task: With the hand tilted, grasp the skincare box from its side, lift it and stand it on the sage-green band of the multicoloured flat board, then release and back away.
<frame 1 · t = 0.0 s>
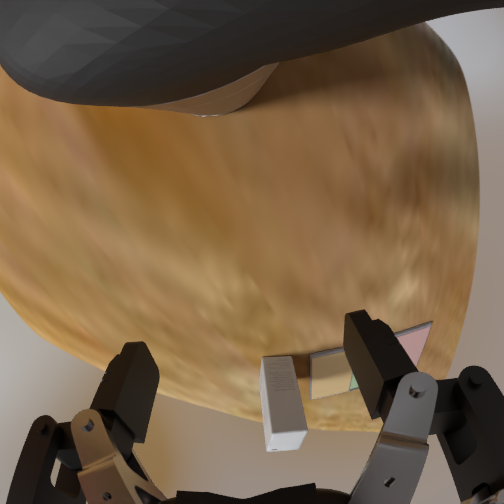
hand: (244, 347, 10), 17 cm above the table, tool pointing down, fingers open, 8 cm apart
multicoloured flat board: (370, 363, 38), on the table
skincare box: (275, 367, 36), on the table
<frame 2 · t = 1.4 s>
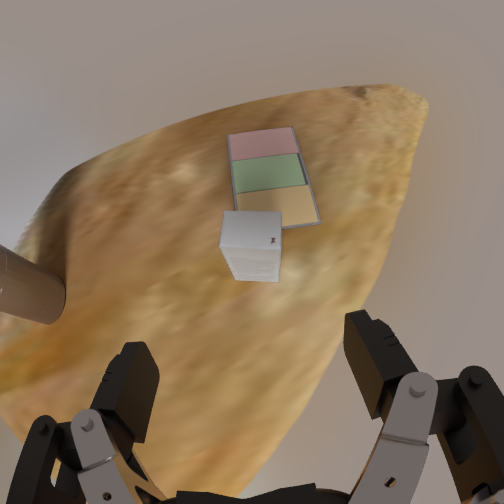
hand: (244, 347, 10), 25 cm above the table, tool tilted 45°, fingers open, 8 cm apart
multicoloured flat board: (269, 174, 43), on the table
skincare box: (257, 267, 38), on the table
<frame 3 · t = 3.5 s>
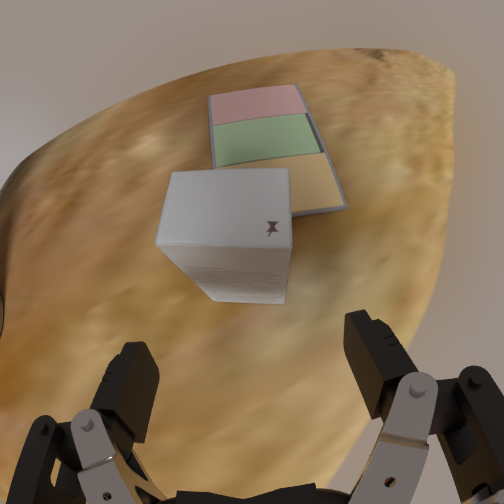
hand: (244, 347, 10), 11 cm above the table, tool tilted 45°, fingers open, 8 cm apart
multicoloured flat board: (266, 140, 28), on the table
skincare box: (249, 279, 23), on the table
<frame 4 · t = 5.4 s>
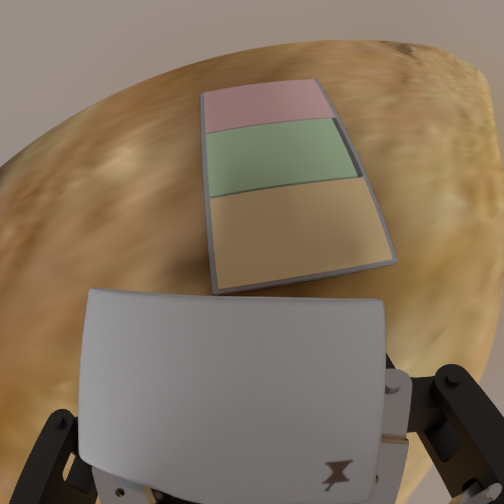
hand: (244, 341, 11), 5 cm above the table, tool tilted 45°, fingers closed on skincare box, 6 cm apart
multicoloured flat board: (280, 155, 20), on the table
skincare box: (258, 371, 15), on the table, touching gripper
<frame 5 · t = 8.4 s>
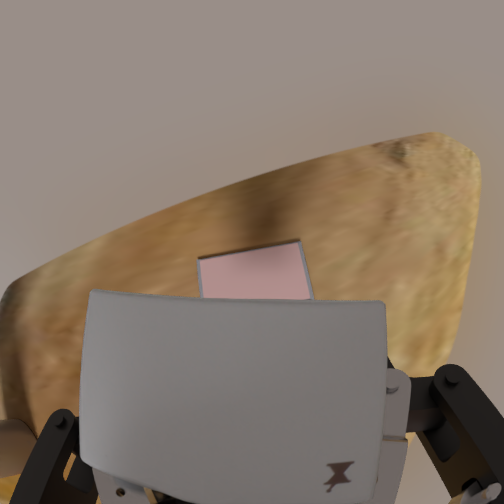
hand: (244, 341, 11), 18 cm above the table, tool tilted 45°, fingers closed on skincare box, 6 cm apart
multicoloured flat board: (263, 340, 28), on the table
skincare box: (258, 372, 15), point 13 cm above the table, touching gripper
when the fingers open (7 cm above the table, at t = 11.3 s): skincare box drops 1 cm, resting on multicoloured flat board.
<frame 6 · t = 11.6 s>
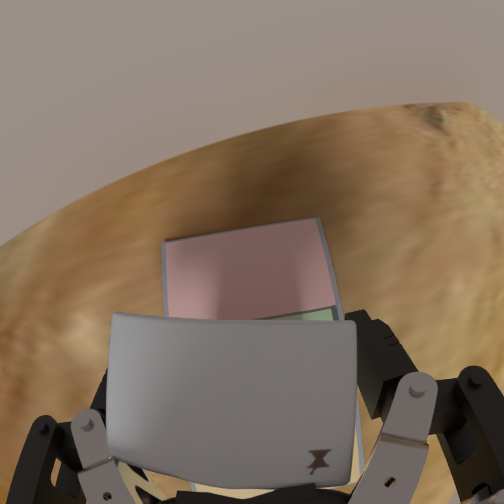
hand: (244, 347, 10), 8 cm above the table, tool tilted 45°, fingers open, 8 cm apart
multicoloured flat board: (259, 370, 17), on the table
skincare box: (257, 374, 16), resting on multicoloured flat board
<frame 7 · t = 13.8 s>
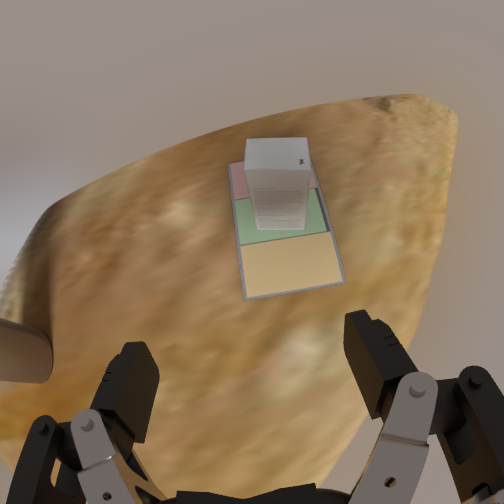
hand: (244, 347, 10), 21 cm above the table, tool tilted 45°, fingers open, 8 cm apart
multicoloured flat board: (281, 217, 35), on the table
skincare box: (280, 216, 35), resting on multicoloured flat board
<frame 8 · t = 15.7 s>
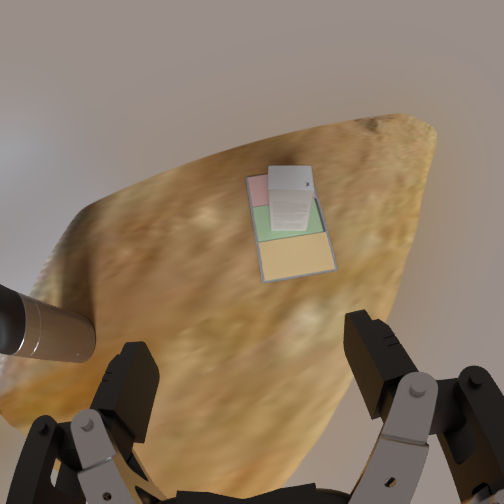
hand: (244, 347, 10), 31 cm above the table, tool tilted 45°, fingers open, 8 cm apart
multicoloured flat board: (288, 220, 46), on the table
skincare box: (287, 220, 46), resting on multicoloured flat board
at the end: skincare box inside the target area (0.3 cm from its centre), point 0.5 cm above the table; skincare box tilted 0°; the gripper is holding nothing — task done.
